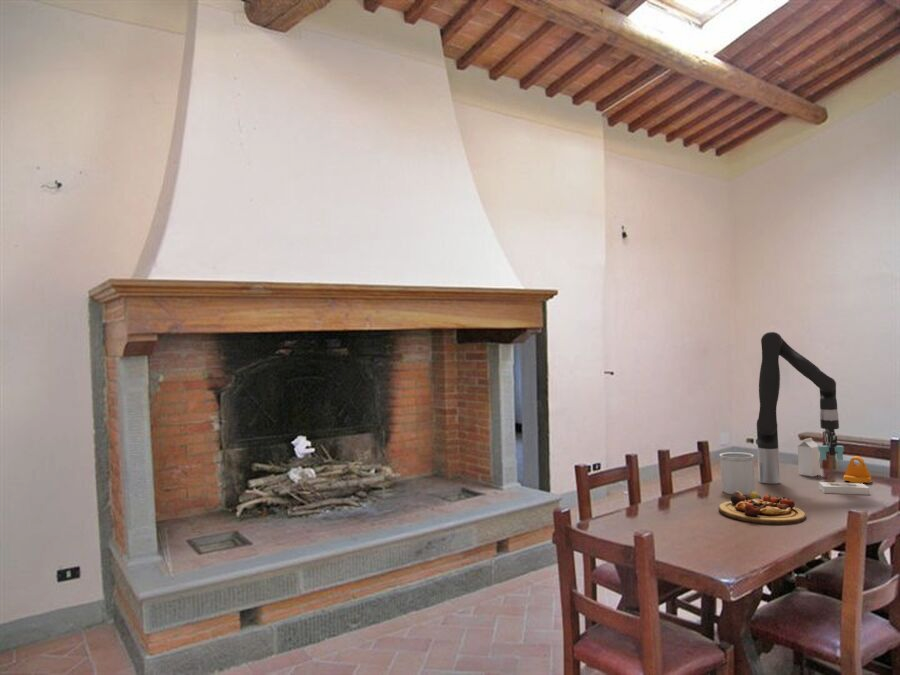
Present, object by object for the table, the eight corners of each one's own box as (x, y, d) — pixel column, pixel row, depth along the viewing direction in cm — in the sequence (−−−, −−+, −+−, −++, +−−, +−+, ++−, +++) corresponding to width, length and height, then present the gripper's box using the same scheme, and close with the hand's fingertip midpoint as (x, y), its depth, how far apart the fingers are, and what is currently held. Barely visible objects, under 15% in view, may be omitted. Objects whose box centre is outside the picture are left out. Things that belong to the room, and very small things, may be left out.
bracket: (843, 482, 300) (842, 457, 301) (845, 479, 306) (844, 455, 306) (869, 484, 293) (868, 459, 294) (871, 481, 299) (870, 457, 299)
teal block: (820, 459, 292) (819, 446, 292) (818, 458, 295) (818, 445, 295) (844, 460, 289) (843, 446, 289) (842, 459, 291) (841, 445, 292)
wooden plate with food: (778, 531, 228) (777, 508, 229) (702, 512, 255) (702, 492, 255) (821, 517, 246) (821, 497, 246) (746, 501, 272) (746, 483, 273)
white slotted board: (823, 492, 280) (823, 486, 280) (819, 488, 289) (818, 482, 289) (869, 494, 274) (869, 487, 274) (863, 490, 283) (863, 483, 283)
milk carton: (820, 475, 316) (818, 438, 317) (812, 477, 313) (811, 440, 313) (806, 473, 323) (805, 437, 323) (798, 474, 319) (797, 438, 319)
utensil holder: (722, 494, 283) (721, 457, 284) (719, 487, 297) (717, 451, 298) (757, 496, 279) (756, 457, 279) (752, 488, 293) (751, 452, 293)
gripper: (816, 417, 300) (818, 452, 299) (824, 420, 286) (826, 457, 286) (833, 416, 297) (835, 452, 297) (842, 420, 284) (844, 457, 284)
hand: (831, 454), depth 292 cm, fingers closed on teal block, 3 cm apart
